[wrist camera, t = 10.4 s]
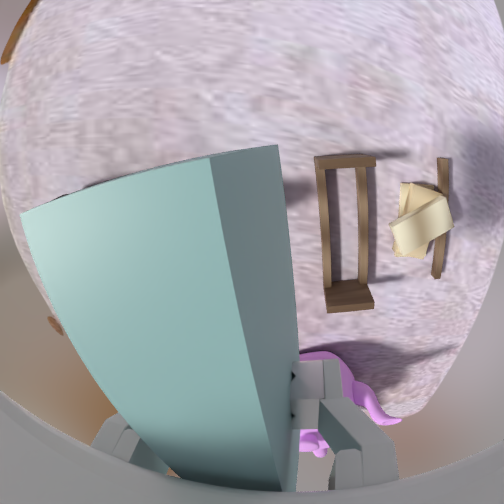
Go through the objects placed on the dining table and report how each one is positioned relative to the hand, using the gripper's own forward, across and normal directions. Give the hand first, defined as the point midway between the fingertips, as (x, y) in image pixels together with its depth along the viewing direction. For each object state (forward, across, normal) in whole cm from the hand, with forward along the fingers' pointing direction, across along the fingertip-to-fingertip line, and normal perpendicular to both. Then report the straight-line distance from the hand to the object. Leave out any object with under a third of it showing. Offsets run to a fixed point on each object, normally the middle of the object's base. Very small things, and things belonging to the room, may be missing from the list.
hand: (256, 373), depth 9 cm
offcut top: (+25, -17, +4) cm, 31 cm away
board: (+4, 0, 0) cm, 4 cm away
